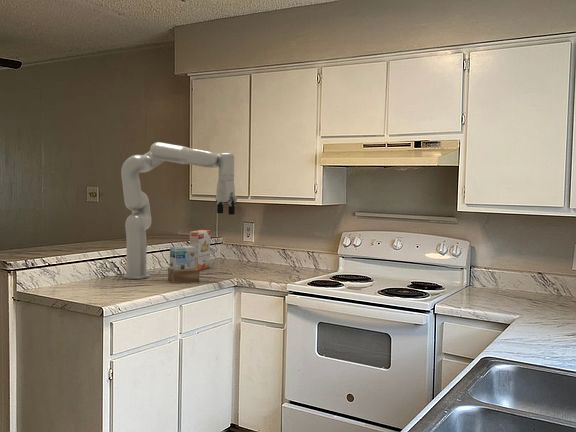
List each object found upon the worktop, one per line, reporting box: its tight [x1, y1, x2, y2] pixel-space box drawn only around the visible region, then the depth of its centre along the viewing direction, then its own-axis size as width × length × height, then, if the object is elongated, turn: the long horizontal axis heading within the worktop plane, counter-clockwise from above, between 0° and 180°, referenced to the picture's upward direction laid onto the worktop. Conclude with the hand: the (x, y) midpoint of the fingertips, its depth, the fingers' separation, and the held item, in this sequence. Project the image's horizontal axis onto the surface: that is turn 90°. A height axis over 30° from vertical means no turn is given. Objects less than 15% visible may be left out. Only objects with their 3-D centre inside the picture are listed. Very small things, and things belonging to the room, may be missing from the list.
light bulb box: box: [169, 245, 195, 270], centre depth 287 cm, size 11×7×11 cm, turn 128°
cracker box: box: [189, 229, 211, 271], centre depth 324 cm, size 14×6×21 cm, turn 161°
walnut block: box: [167, 267, 200, 284], centre depth 288 cm, size 12×12×6 cm
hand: (225, 213), depth 290 cm, fingers open, 9 cm apart
